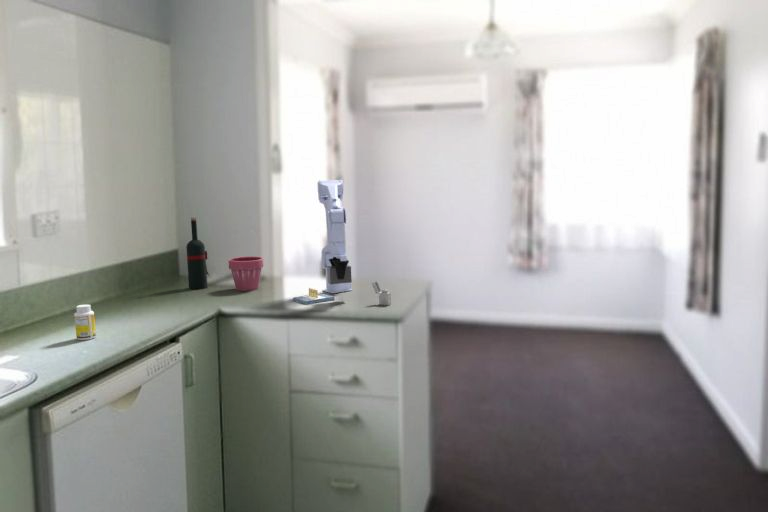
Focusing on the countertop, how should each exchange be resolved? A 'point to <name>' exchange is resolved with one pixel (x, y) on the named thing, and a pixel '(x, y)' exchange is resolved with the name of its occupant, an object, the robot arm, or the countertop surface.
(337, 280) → the block
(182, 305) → the countertop surface
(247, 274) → the plant pot
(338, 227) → the robot arm
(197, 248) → the wine bottle
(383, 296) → the lighter
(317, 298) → the header board
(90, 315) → the supplement bottle
